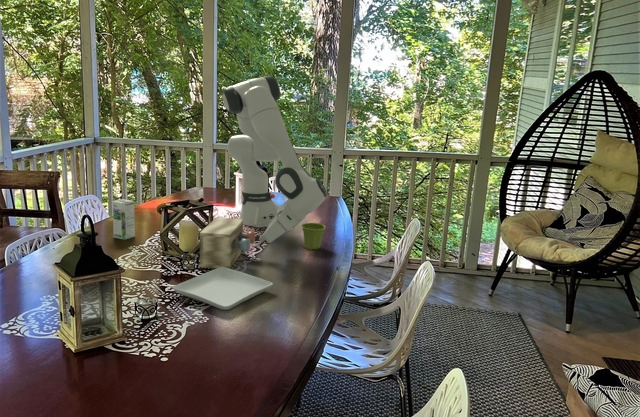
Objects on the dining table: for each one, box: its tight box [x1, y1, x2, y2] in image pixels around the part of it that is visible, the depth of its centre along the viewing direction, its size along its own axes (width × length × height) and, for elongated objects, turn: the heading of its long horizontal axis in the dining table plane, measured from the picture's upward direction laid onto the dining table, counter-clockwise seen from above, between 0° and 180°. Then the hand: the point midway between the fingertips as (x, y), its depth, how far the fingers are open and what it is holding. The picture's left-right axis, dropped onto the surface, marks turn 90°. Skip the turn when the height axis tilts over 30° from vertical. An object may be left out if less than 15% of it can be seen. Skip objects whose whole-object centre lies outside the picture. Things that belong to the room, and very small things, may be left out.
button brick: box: [238, 230, 256, 245], centre depth 174 cm, size 7×4×4 cm, turn 86°
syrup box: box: [112, 198, 136, 241], centre depth 187 cm, size 6×6×14 cm
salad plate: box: [172, 267, 274, 311], centre depth 142 cm, size 21×21×3 cm
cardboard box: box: [199, 217, 244, 269], centre depth 170 cm, size 10×20×12 cm, turn 176°
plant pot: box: [301, 222, 327, 250], centre depth 188 cm, size 9×9×9 cm
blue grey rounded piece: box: [232, 238, 251, 253], centre depth 165 cm, size 7×4×4 cm, turn 86°
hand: (260, 240), depth 174 cm, fingers closed
